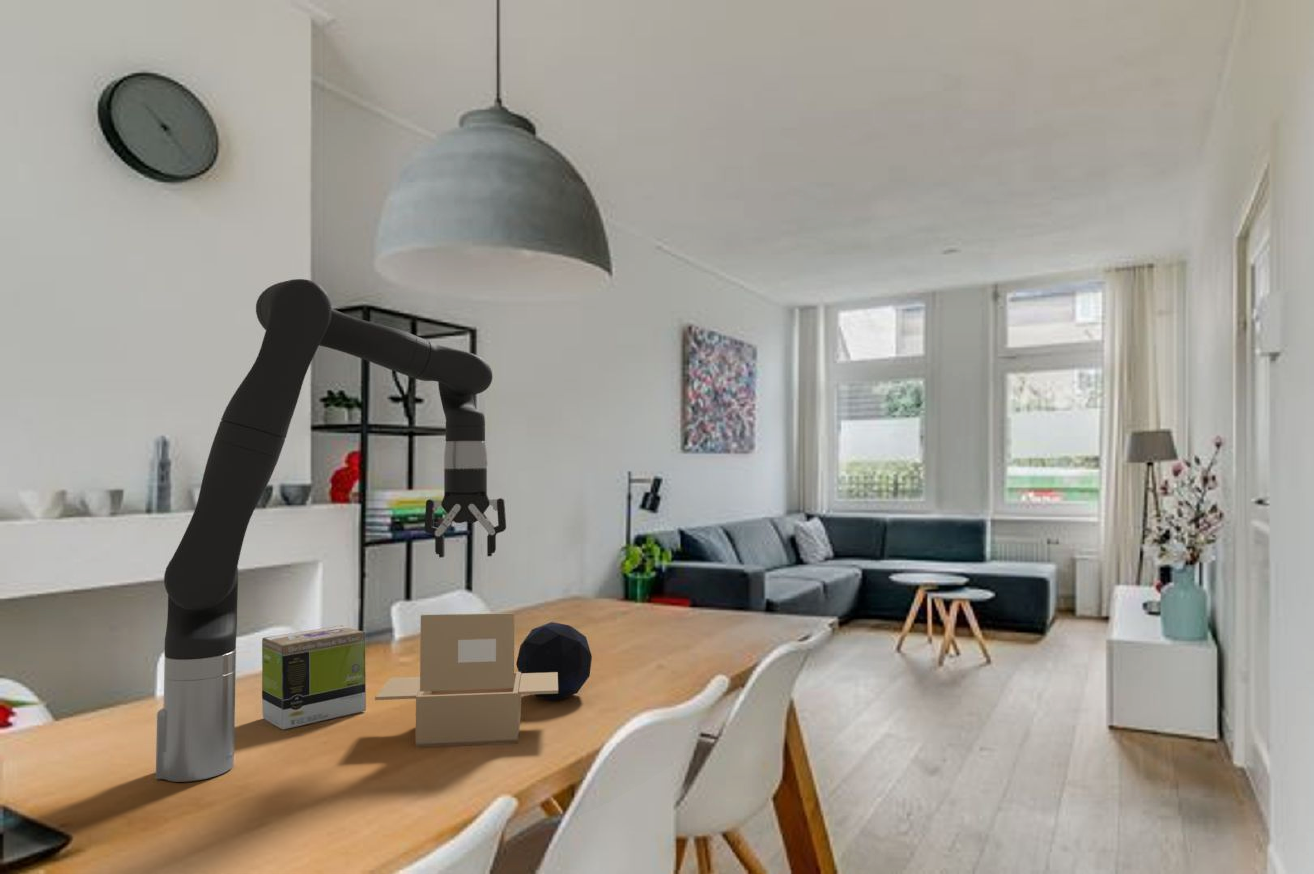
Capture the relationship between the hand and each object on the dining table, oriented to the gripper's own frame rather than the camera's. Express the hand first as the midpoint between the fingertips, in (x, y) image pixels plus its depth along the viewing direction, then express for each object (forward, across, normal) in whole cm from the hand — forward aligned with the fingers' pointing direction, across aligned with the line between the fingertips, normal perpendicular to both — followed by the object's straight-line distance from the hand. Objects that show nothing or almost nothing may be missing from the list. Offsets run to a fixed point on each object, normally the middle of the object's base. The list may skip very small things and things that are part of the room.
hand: (465, 556), depth 147 cm
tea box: (+28, -27, +4) cm, 40 cm away
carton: (+28, +2, -9) cm, 30 cm away
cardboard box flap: (+20, +2, -16) cm, 25 cm away
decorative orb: (+29, +16, +10) cm, 34 cm away
